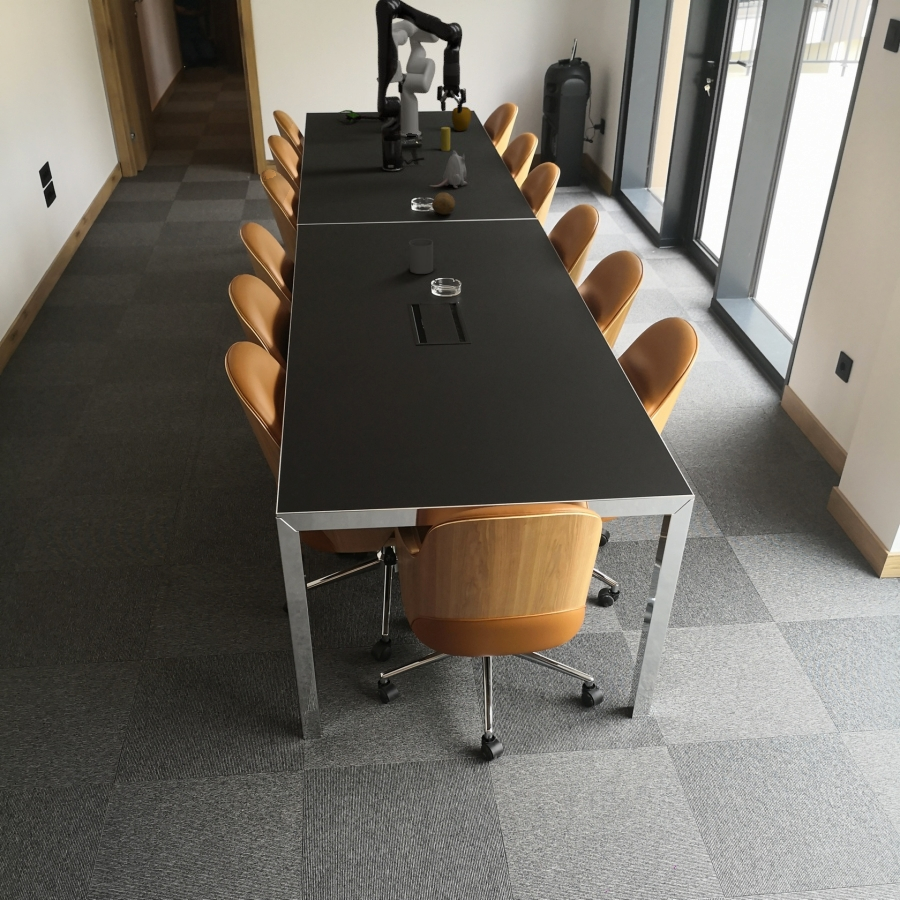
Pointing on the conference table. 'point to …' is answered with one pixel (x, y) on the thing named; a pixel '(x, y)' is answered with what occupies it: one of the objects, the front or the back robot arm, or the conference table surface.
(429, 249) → the cup
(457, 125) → the yellow rounded blob
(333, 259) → the conference table surface
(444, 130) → the can
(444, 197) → the potato
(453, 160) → the toy
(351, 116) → the scepter
